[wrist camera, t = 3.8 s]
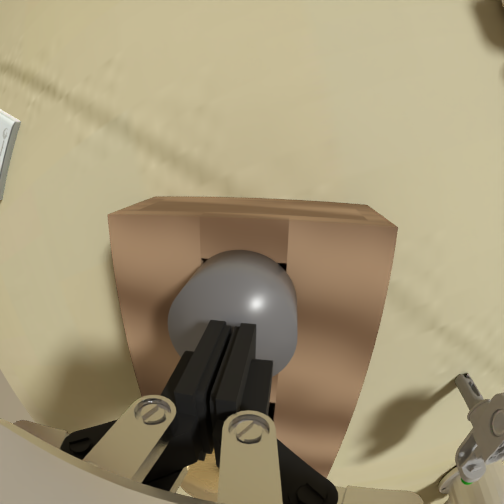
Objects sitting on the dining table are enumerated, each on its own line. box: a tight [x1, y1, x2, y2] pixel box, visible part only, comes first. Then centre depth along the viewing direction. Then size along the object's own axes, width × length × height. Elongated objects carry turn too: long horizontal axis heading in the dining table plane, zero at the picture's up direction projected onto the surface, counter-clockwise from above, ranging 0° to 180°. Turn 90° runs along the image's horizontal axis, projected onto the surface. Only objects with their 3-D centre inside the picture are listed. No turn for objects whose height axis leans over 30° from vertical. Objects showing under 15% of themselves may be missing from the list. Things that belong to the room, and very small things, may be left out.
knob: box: [168, 250, 297, 377], centre depth 15 cm, size 5×5×8 cm
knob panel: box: [108, 197, 398, 478], centre depth 20 cm, size 26×14×6 cm, turn 179°
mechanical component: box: [455, 374, 504, 485], centre depth 17 cm, size 3×10×10 cm, turn 178°
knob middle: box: [180, 402, 270, 502], centre depth 16 cm, size 5×5×8 cm
